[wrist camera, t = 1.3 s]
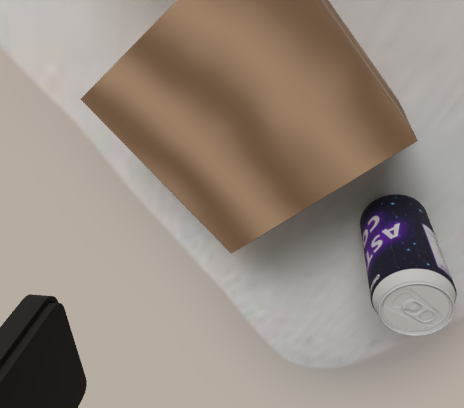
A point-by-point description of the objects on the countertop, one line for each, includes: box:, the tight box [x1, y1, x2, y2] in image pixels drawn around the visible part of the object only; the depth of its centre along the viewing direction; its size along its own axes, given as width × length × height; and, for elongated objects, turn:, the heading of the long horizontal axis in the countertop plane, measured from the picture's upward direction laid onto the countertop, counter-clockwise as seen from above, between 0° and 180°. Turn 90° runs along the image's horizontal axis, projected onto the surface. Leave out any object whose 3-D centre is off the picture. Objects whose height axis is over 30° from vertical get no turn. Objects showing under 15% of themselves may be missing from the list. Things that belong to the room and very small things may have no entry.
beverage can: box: [360, 195, 456, 336], centre depth 35 cm, size 6×6×12 cm
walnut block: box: [81, 0, 418, 253], centre depth 33 cm, size 16×16×8 cm
